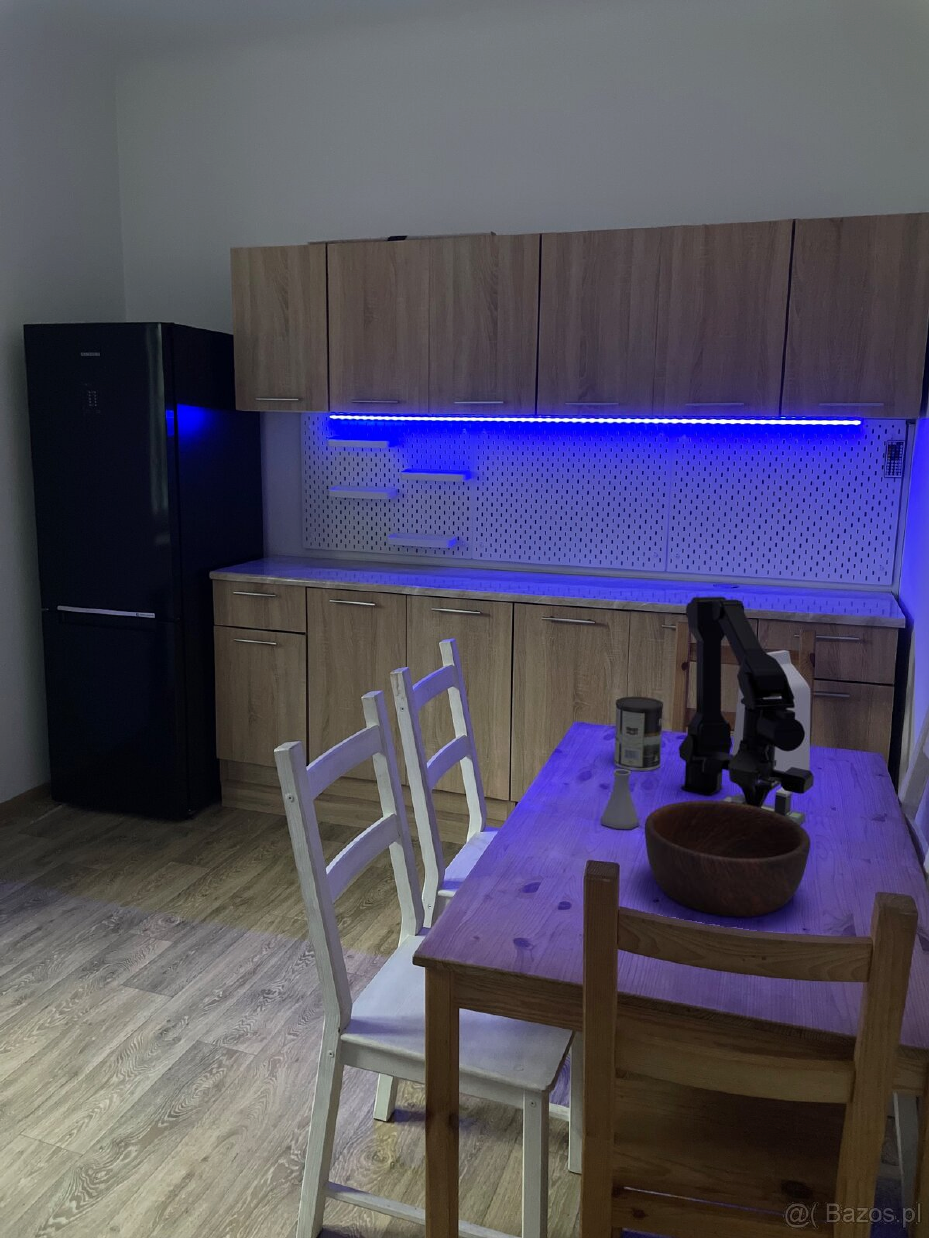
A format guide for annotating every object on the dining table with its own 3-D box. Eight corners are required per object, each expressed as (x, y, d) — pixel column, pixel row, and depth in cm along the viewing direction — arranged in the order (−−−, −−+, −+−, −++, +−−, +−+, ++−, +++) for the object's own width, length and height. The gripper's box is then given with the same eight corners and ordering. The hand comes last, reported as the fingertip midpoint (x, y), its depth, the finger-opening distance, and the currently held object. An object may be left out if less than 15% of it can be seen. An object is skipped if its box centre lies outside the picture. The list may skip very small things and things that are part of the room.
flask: (644, 819, 181) (646, 768, 180) (633, 833, 175) (636, 780, 173) (606, 813, 184) (608, 763, 183) (595, 826, 178) (597, 774, 176)
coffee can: (655, 756, 219) (658, 696, 216) (664, 771, 209) (667, 708, 206) (610, 756, 219) (612, 695, 216) (616, 771, 209) (619, 707, 206)
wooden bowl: (819, 935, 139) (824, 867, 137) (642, 918, 143) (645, 853, 141) (792, 863, 163) (796, 805, 161) (641, 851, 167) (644, 794, 165)
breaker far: (774, 812, 181) (775, 791, 180) (780, 807, 183) (781, 787, 182) (784, 814, 180) (786, 794, 179) (790, 810, 182) (791, 789, 181)
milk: (772, 780, 204) (781, 660, 199) (730, 765, 213) (737, 650, 209) (809, 770, 210) (818, 654, 206) (766, 756, 220) (774, 644, 215)
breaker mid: (729, 818, 177) (731, 797, 176) (736, 814, 180) (737, 793, 179) (740, 821, 176) (741, 800, 175) (746, 816, 178) (748, 795, 178)
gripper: (691, 734, 172) (687, 817, 175) (796, 755, 161) (789, 843, 164) (717, 721, 181) (712, 800, 184) (817, 740, 170) (811, 824, 173)
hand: (754, 816), depth 176 cm, fingers closed
